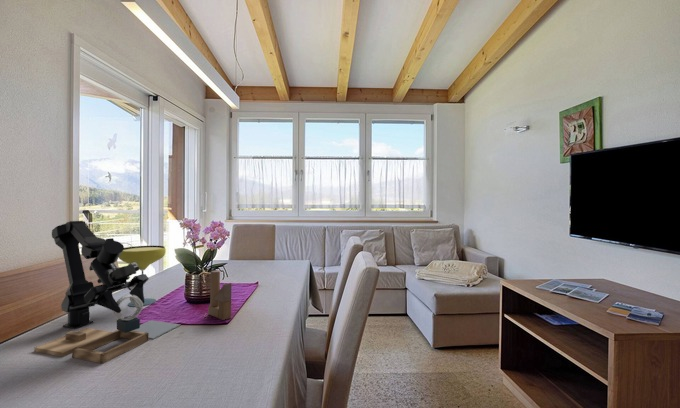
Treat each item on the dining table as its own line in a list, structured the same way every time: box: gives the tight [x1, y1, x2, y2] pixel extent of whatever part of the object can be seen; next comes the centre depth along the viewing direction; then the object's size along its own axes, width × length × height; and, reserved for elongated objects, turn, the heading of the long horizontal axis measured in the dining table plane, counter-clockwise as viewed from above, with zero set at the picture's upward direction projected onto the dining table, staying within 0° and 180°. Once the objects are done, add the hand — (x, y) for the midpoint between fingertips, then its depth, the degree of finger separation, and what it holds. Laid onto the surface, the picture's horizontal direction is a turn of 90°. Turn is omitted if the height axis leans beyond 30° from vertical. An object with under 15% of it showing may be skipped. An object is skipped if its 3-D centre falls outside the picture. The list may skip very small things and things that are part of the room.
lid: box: [33, 327, 113, 358], centre depth 98 cm, size 12×15×3 cm
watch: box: [113, 294, 144, 333], centre depth 100 cm, size 6×8×11 cm
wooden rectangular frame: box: [71, 329, 149, 364], centre depth 95 cm, size 12×15×2 cm
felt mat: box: [133, 319, 181, 340], centre depth 109 cm, size 14×12×1 cm
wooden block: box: [207, 270, 232, 321], centre depth 123 cm, size 4×11×18 cm, turn 55°
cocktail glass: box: [118, 245, 167, 308], centre depth 138 cm, size 18×18×25 cm
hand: (132, 307), depth 100 cm, fingers closed on watch, 8 cm apart
